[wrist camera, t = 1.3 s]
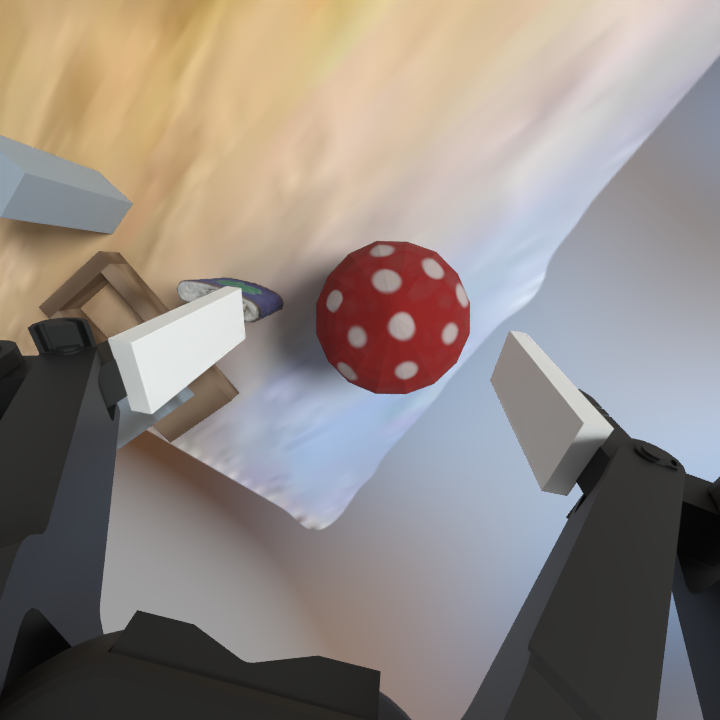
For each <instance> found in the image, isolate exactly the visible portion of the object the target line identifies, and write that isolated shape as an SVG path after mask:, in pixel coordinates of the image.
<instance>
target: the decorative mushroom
mask: <svg viewBox="0 0 720 720" xmlns="http://www.w3.org/2000/svg"><path fill="white" fill-rule="evenodd" d="M316 334H317V336H318V339H319V341H320V343H321V346H322V348H323V350H324V352H325V355H326V357H327V359H328V361H329V362H330V363H331V364H332V365H333V366H334V367H335V368H336V369H337V371H338V372H339V373H340V374H341V375H342V376H343V377H344V378H345V379H346V380H347V381H348V382H350V383H352V384H354V385H357V386H359V387H361V388H364V389H366V390H369V391H371V392H373V393H376V394H407V393H410V392H413V391H416V390H418V389H421V388H424V387H427V386H429V385H432V384H434V383H435V382H436V381H438V380H439V379H440V378H441V377H442V376H443V375H444V374H445V373H446V372H447V371H448V370H449V369H450V368H451V367H452V366H453V365H454V364H456V363H457V360H458V358H459V356H460V354H461V352H462V349H463V347H464V345H465V343H466V341H467V338H468V336H469V334H470V302H469V299H468V297H467V295H466V292H465V290H464V288H463V285H462V283H461V281H460V278H459V276H458V274H457V273H456V272H455V271H454V270H453V269H452V268H451V267H450V266H449V265H448V264H447V263H446V262H445V261H444V260H443V259H442V257H441V256H440V255H439V254H438V253H437V252H434V251H432V250H429V249H426V248H423V247H420V246H418V245H415V244H412V243H409V242H393V241H376V242H374V243H372V244H369V245H367V246H365V247H363V248H361V249H359V250H356V251H354V252H352V253H350V254H348V255H347V257H346V258H345V259H344V260H343V261H342V262H341V263H340V264H339V265H338V266H337V267H336V268H335V269H334V270H333V272H332V273H331V274H330V275H329V276H328V278H327V280H326V283H325V285H324V287H323V290H322V292H321V294H320V296H319V299H318V301H317V308H316Z"/></svg>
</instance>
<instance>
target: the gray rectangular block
mask: <svg viewBox="0 0 720 720" xmlns="http://www.w3.org/2000/svg"><path fill="white" fill-rule="evenodd" d="M132 204H133V203H132V202H131V201H130V200H129V199H127V198H126V197H125V196H124V195H123V194H122V193H121V192H120V191H119V190H118V189H117V188H116V187H115V186H113V185H112V184H111V183H110V182H109V181H108V180H107V179H106V178H105V177H104V176H103V175H102V174H101V173H100V172H98V171H96V170H93V169H90V168H87V167H85V166H82V165H79V164H77V163H74V162H71V161H69V160H66V159H63V158H60V157H58V156H55V155H52V154H50V153H47V152H44V151H42V150H39V149H36V148H33V147H31V146H28V145H25V144H23V143H20V142H17V141H14V140H12V139H9V138H6V137H4V136H1V135H0V218H7V219H14V220H21V221H28V222H34V223H41V224H48V225H55V226H61V227H68V228H75V229H82V230H88V231H95V232H102V233H109V234H113V232H114V231H115V229H116V228H117V226H118V225H119V223H120V222H121V221H122V219H123V218H124V216H125V215H126V213H127V212H128V210H129V209H130V207H131V206H132Z"/></svg>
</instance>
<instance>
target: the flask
mask: <svg viewBox="0 0 720 720" xmlns="http://www.w3.org/2000/svg"><path fill="white" fill-rule="evenodd" d="M226 286H230V287H237V288H241V291H242V303H243V315H244V321H245V322H255V321H257V320H260V319H262V318H264V317H265V316H267V315H271V314H272V313H273V312H275V311H278V310H280V309H282V306H283V303H284V302H283V299H282V297H281V296H280V295H278V294H277V293H276V292H273V291H272V290H269V289H268V288H265V287H263V286H261V285H257V284H255V283H250V282H246V281H242V280H238V279H232V278H214V279H200V280H184V281H181V282H180V283H179V285H178V287H177V291H178V294H179V296H180V299H182V300H184V301H186V302H188V303H189V302H192V301H194V300H196V299H198V298H201V297H203V296H205V295H207V294H210V293H212V292H214V291H216V290H219V289H221V288H223V287H226Z"/></svg>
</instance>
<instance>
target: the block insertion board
mask: <svg viewBox="0 0 720 720" xmlns="http://www.w3.org/2000/svg"><path fill="white" fill-rule="evenodd" d="M109 282H110V283H111V284H112V285H113V287H114V288H115V289H116V290H117V291H118V292H119V293H120V294H121V296H122V297H123V298H124V299H125V300H126V301H127V302H128V303H129V305H130V306H131V307H132V308H133V309H134V310H135V311H136V312H137V314H138V315H139V316H140V317H141V318H142V319H143V320H144V321H145V322H147V321H149V320H151V319H153V318H156V317H158V316H160V315H162V314H165V313H167V312H169V310H168V309H167V308H166V307H165V306H164V304H163V303H162V302H161V301H160V300H159V299H158V297H157V296H156V295H155V294H154V293H153V292H152V290H151V289H150V288H149V287H148V286H147V285H146V283H145V282H144V281H143V280H142V279H141V278H140V276H139V275H138V274H137V273H136V272H135V271H134V269H133V268H132V267H131V266H130V265H129V264H128V262H127V261H126V260H125V259H124V258H123V257H122V255H121V254H120V253H116V252H103V251H99V252H98V253H97V254H96V255H94V256H93V257H92V258H91V259H90V260H89V261H88V262H87V263H86V264H85V265H84V266H83V267H82V268H80V269H79V270H78V271H77V272H76V273H75V274H74V275H73V276H72V277H71V278H70V279H69V280H68V281H66V282H65V283H64V284H63V285H62V286H61V287H60V288H59V289H58V290H57V291H56V292H55V293H54V294H53V295H51V296H50V297H49V298H48V299H47V300H46V301H45V302H44V303H43V304H42V305H41V306H40V307H39V308H40V309H41V310H42V311H43V312H44V313H45V314H46V315H47V316H48V318H49V319H54V318H63V317H77V318H84V319H86V320H88V322H89V325H90V328H91V331H92V334H93V336H94V339H95V342H96V345H97V344H99V343H102V342H104V341H106V340H108V338H107V337H106V336H105V335H104V334H103V332H102V331H101V330H100V329H99V328H98V327H97V326H96V325H95V324H94V323H93V322H92V321H91V320H90V319H89V317H88V316H87V315H86V314H85V313H84V312H83V311H82V310H81V309H80V308H81V307H82V306H83V305H84V304H85V303H86V302H87V301H88V300H90V299H91V298H92V297H93V296H94V295H95V294H96V293H97V292H99V291H100V290H101V289H102V288H103V287H104V286H105V285H106V284H107V283H109ZM238 394H239V392H238V391H237V390H236V388H235V387H234V386H233V385H232V384H231V383H230V381H229V380H228V379H227V378H226V377H225V376H224V374H223V373H222V372H221V371H220V370H219V369H218V367H217V366H216V365H215V364H213V365H212V366H211V367H209V368H208V369H207V370H206V371H205V372H203V373H202V374H201V375H200V376H198V377H197V378H196V379H195V380H193V381H192V382H191V383H190V384H189V385H187V386H186V387H185V388H184V389H182V390H181V391H180V392H179V393H178V394H176V395H175V396H174V397H173V398H171V399H170V400H169V401H168V402H166V403H165V404H164V405H163V406H162V407H160V408H159V409H158V410H157V411H155V412H154V413H153V414H147V413H142V412H137V411H132V410H131V408H130V405H129V402H128V399H127V396H126V397H125V398H123V399H122V400H120V401H119V402H117V404H118V406H119V409H120V420H119V429H118V438H117V449H119V448H121V447H122V446H124V445H125V444H126V443H128V442H129V441H131V440H132V439H134V438H135V437H137V436H138V435H139V434H141V433H142V432H144V431H145V430H146V429H148V428H149V427H151V426H152V425H153V426H154V427H155V428H156V429H157V430H158V431H159V432H160V433H161V434H162V435H163V436H164V437H165V438H166V439H167V440H168V441H169V442H170V443H171V442H172V441H173V440H175V439H176V438H178V437H179V436H181V435H182V434H184V433H185V432H186V431H188V430H189V429H191V428H192V427H194V426H195V425H197V424H198V423H199V422H201V421H202V420H204V419H205V418H207V417H208V416H210V415H211V414H213V413H214V412H215V411H217V410H218V409H220V408H221V407H223V406H224V405H226V404H227V403H228V402H230V401H231V400H232V399H233V398H234V397H235V396H236V395H238Z"/></svg>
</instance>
